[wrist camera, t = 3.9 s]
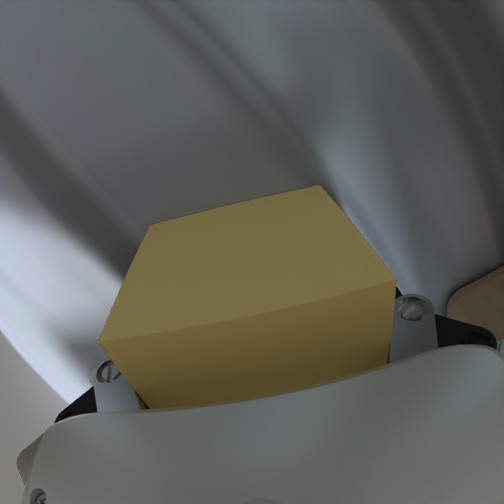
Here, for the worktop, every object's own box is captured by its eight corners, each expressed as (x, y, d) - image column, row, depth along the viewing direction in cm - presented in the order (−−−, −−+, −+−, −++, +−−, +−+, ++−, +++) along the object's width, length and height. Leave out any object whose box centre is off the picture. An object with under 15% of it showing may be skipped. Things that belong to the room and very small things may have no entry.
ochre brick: (150, 225, 11) (98, 341, 6) (319, 184, 11) (396, 279, 6) (201, 343, 14) (195, 457, 9) (333, 315, 14) (375, 424, 9)
